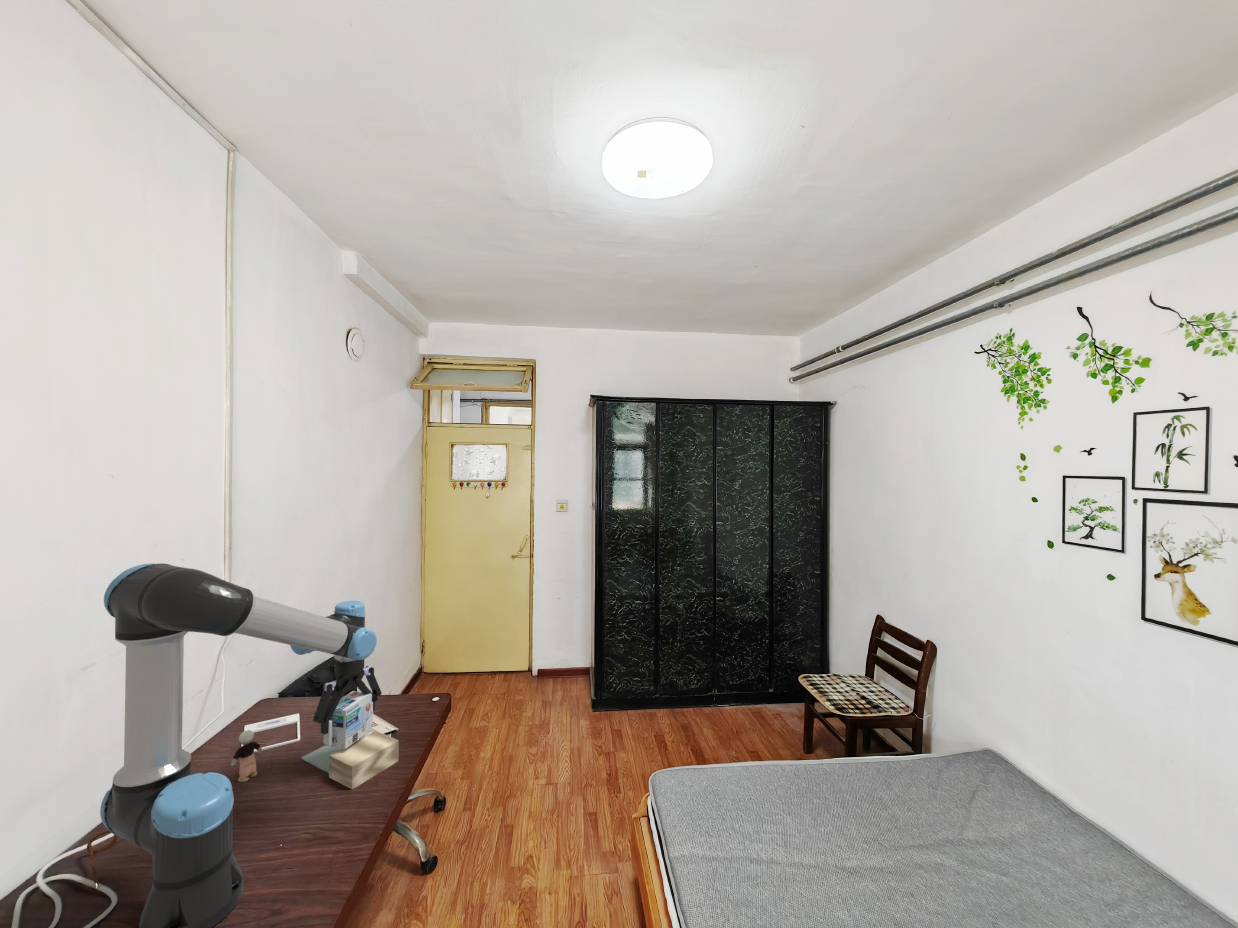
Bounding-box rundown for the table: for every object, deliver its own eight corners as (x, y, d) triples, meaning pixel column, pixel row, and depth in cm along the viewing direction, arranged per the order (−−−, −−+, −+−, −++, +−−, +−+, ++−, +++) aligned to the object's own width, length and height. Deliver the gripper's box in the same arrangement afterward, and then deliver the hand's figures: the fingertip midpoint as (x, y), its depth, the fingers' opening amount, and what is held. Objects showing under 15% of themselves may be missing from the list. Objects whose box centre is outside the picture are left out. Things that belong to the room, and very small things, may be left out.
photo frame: (299, 712, 167) (300, 738, 152) (299, 715, 167) (300, 741, 152) (244, 724, 159) (240, 753, 144) (244, 728, 159) (240, 757, 144)
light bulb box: (345, 749, 136) (345, 710, 136) (324, 746, 137) (324, 707, 137) (372, 728, 146) (372, 692, 146) (352, 726, 148) (353, 689, 147)
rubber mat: (330, 773, 136) (330, 772, 136) (300, 758, 143) (300, 757, 143) (370, 751, 147) (370, 750, 147) (341, 738, 153) (341, 737, 153)
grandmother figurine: (253, 767, 138) (253, 722, 138) (264, 769, 138) (264, 724, 137) (226, 785, 131) (226, 737, 131) (238, 787, 130) (238, 739, 130)
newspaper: (326, 726, 161) (327, 718, 161) (364, 714, 171) (365, 707, 171) (361, 750, 148) (362, 742, 148) (400, 736, 157) (400, 728, 158)
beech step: (352, 789, 130) (352, 766, 130) (329, 777, 135) (329, 755, 135) (398, 760, 142) (398, 740, 142) (375, 750, 147) (375, 730, 147)
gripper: (314, 675, 129) (314, 758, 129) (395, 645, 150) (394, 717, 150) (298, 669, 133) (297, 750, 133) (378, 641, 154) (378, 711, 154)
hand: (349, 733), depth 142 cm, fingers closed on light bulb box, 11 cm apart
